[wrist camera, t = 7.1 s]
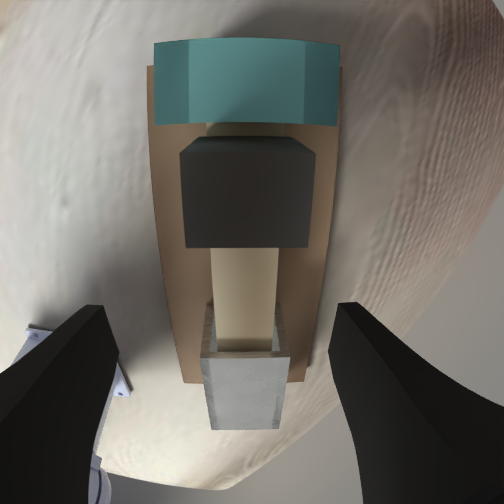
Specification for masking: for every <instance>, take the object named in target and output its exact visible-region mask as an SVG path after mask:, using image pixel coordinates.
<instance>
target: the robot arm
mask: <svg viewBox="0 0 504 504" xmlns="http://www.w3.org/2000/svg"><path fill="white" fill-rule="evenodd" d="M25 334H26V336H27V338H28V339H27V340H26V342H25V344H24V345H23V347H22V348H21V350H20V352H19V353H18V355H17V356H16V358H15V360H14V361H13V363H12V365H11V366H10V367H9V368H7V369H6V370H5V371H3V372H2V373H0V504H110V499H111V485H110V481H109V479H108V476H107V473H106V472H105V470H104V469H102V468H100V465H101V460H102V458H101V457H99V456H97V455H96V451H97V448H98V444H99V440H100V437H101V433H102V430H103V426H104V423H105V419H106V416H107V413H108V409H109V406H110V403H111V400H112V397H113V396H120V397H130V395H131V392H130V390H129V388H128V385H127V383H126V381H125V378H124V376H123V374H122V371H121V369H120V367H119V364H118V362H117V361H118V356H119V350H118V347H117V345H116V342H115V339H114V336H113V334H112V331H111V328H110V325H109V322H108V319H107V316H106V313H105V310H104V307H103V305H86V306H84V307H83V308H81V309H80V310H79V311H77V312H76V313H75V314H74V315H72V316H71V317H70V318H69V319H68V320H66V321H65V322H64V323H63V324H62V325H60V326H59V327H58V328H57V329H56V330H55V331H53V332H52V331H45V330H39V329H32V328H27V329H26V330H25ZM328 354H329V359H330V364H331V369H332V374H333V379H334V382H335V385H336V388H337V391H338V394H339V397H340V400H341V403H342V406H343V409H344V412H345V416H346V419H347V422H348V425H349V428H350V431H351V434H352V437H353V441H354V445H355V449H356V455H357V460H358V466H359V472H360V479H361V487H362V495H363V504H504V407H503V406H501V405H498V404H496V403H494V402H492V401H490V400H488V399H486V398H484V397H482V396H480V395H478V394H476V393H475V392H473V391H471V390H469V389H467V388H466V387H464V386H462V385H460V384H459V383H457V382H456V381H454V380H453V379H451V378H450V377H448V376H447V375H445V374H443V373H442V372H440V371H439V370H438V369H436V368H435V367H433V366H432V365H431V364H430V363H428V362H427V361H426V360H424V359H423V358H422V357H421V356H419V355H418V354H417V353H415V352H414V351H413V350H412V349H410V348H409V347H408V346H407V345H406V344H405V343H403V342H402V341H401V340H400V339H399V338H398V337H396V336H395V335H394V334H393V333H392V332H391V331H390V330H388V329H387V328H386V327H385V326H384V325H383V324H382V323H381V322H379V321H378V320H377V319H376V318H375V317H374V316H373V315H372V314H371V313H369V312H368V311H367V310H366V309H365V308H364V307H363V306H361V305H360V304H359V303H358V302H347V303H338V307H337V312H336V317H335V322H334V326H333V331H332V335H331V340H330V344H329V349H328Z"/></svg>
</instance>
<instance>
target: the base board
mask: <svg viewBox="0 0 504 504" xmlns="http://www.w3.org/2000/svg"><path fill="white" fill-rule="evenodd" d="M341 87H342V67H339V98H338V118H337V127H336V126H325V125H312V124H296V123H285V128H284V137H293V138H294V139H296V140H297V141H299V142H300V143H302V144H303V145H305V146H306V147H307V148H309V149H310V150H312V151H313V152H315V153H316V162H315V176H314V189H313V201H312V213H311V223H310V234H309V243H308V248H279V255H278V271H277V286H276V301H275V303H281V309H282V314H283V319H284V325H285V330H286V336H287V341H288V347H289V352H290V363H289V370H288V376H287V383H289V382H304V378H305V374H306V369H307V364H308V359H309V354H310V349H311V344H312V339H313V334H314V328H315V323H316V317H317V312H318V306H319V300H320V294H321V288H322V282H323V275H324V268H325V262H326V255H327V247H328V240H329V232H330V224H331V216H332V207H333V198H334V188H335V178H336V167H337V155H338V142H339V127H340V110H341ZM147 112H148V136H149V153H150V167H151V180H152V191H153V202H154V211H155V220H156V229H157V237H158V244H159V252H160V259H161V266H162V273H163V279H164V285H165V291H166V297H167V303H168V309H169V314H170V320H171V325H172V330H173V335H174V340H175V345H176V350H177V354H178V359H179V363H180V368H181V372H182V377H183V381H184V383H195V384H204V383H203V377H202V371H201V365H200V350H201V342H202V334H203V326H204V318H205V311H206V304H214V299H213V284H212V269H211V251H210V248H186V245H185V234H184V222H183V209H182V194H181V178H180V158H179V153H180V152H181V151H182V150H183V149H185V148H186V147H187V146H188V145H189V144H190V143H192V142H193V141H194V140H195V139H196V138H198V137H201V136H206V123H187V124H171V125H158V126H155V118H154V65H152V66H147Z"/></svg>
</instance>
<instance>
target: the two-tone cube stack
mask: <svg viewBox="0 0 504 504" xmlns="http://www.w3.org/2000/svg"><path fill="white" fill-rule="evenodd" d="M284 128H285V123H272V122H211V123H206V136H201V137H198V138H196V139H195V140H194V141H193V142H192V143H190V144H189V145H188V146H187V147H186V148H185V149H183V150H182V151H181V152H180V153H179V158H180V178H181V194H182V209H183V222H184V234H185V245H186V248H210V251H211V269H212V284H213V299H214V313H215V326H216V338H217V350H218V352H261V351H272V341H273V328H274V314H275V301H276V286H277V271H278V255H279V248H308V243H309V234H310V223H311V213H312V201H313V189H314V176H315V162H316V153H315V152H313V151H312V150H310V149H309V148H307V147H306V146H305V145H303V144H302V143H300V142H299V141H297V140H296V139H294V138H293V137H284Z"/></svg>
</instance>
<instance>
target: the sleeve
mask: <svg viewBox="0 0 504 504" xmlns="http://www.w3.org/2000/svg"><path fill="white" fill-rule="evenodd" d="M289 363H290V352H289V347H288V341H287V336H286V330H285V325H284V319H283V314H282V309H281V303H275V314H274V328H273V341H272V351H261V352H218V350H217V338H216V326H215V313H214V304H206V311H205V318H204V326H203V334H202V342H201V350H200V365H201V371H202V377H203V383H204V389H205V395H206V401H207V407H208V412H209V418H210V423H211V428H212V430H257V429H279V425H280V419H281V413H282V408H283V402H284V395H285V389H286V383H287V376H288V370H289Z"/></svg>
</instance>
